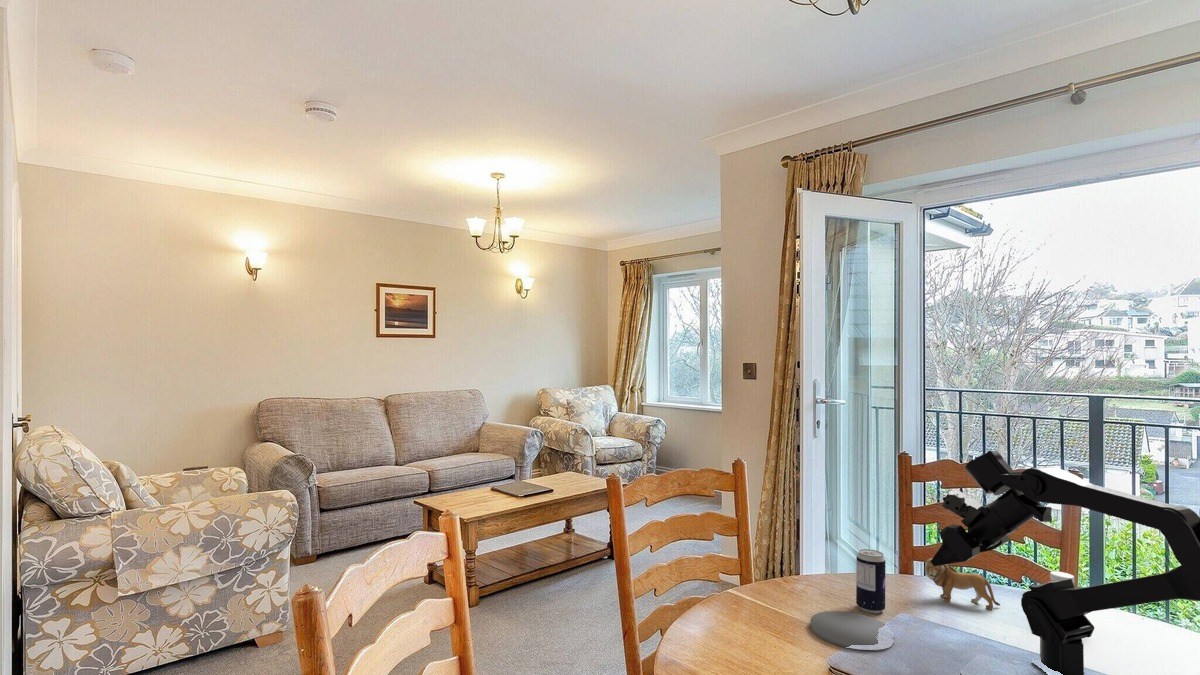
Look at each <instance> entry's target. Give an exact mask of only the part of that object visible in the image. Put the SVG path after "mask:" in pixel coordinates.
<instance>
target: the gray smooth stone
mask: <svg viewBox="0 0 1200 675" xmlns="http://www.w3.org/2000/svg"><path fill="white" fill-rule="evenodd" d="M885 624H886V623H885V622H883V621H881V620H878V619H876V618H874V617H871V616H868V615H865V614H861V613H857V612H851V611H843V610H828V611H821V612H817V613H815V614H813V615H812V616H811V618H810V629H811V631H812V632H813V634H814V635H815V636H816V637H817V638H819V639H821V640H822V641H825V642H827V643H829V644H832V645H834V646H838V647H840V648H844V649H847V648H846V647H849V646H851V645H875V644H878V640H877V638H878V637H877V636H878V633H879V632H878V630H879V628H881V627H883V626H885ZM876 637H877V638H876Z"/></svg>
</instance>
